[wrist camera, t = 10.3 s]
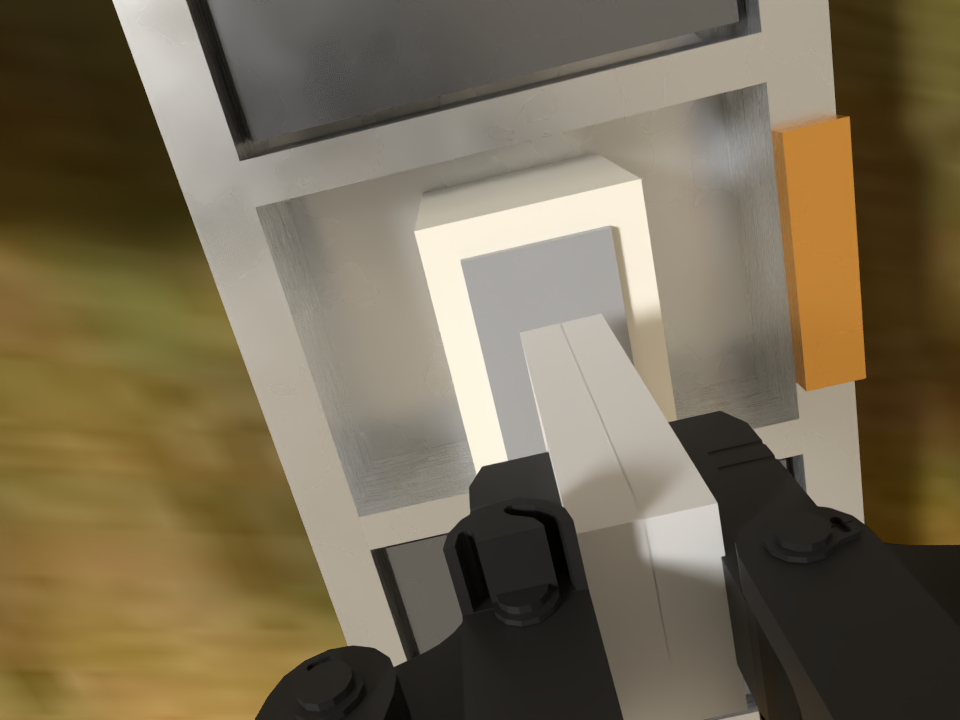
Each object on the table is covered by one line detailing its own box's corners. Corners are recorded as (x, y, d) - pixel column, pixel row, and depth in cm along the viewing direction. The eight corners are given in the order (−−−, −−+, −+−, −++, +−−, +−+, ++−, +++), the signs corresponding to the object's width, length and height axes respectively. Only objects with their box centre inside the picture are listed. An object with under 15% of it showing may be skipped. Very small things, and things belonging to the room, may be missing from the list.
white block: (422, 193, 20) (413, 233, 15) (595, 152, 20) (643, 180, 15) (478, 419, 22) (486, 517, 17) (635, 384, 22) (687, 474, 17)
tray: (84, -253, 17) (-31, -355, 13) (725, -430, 16) (816, -596, 12) (413, 712, 27) (407, 828, 23) (825, 624, 26) (895, 728, 22)
